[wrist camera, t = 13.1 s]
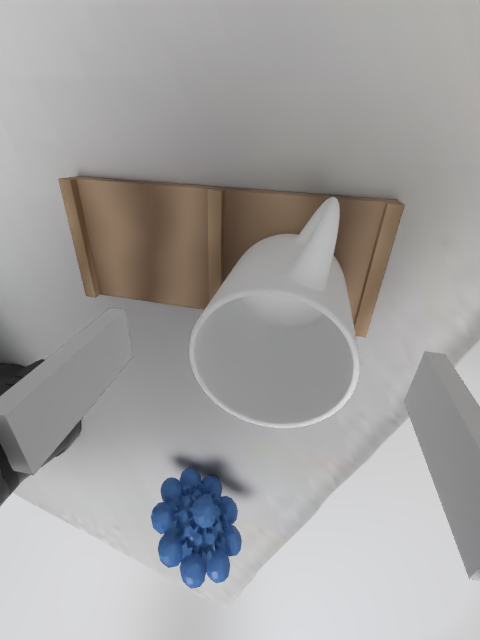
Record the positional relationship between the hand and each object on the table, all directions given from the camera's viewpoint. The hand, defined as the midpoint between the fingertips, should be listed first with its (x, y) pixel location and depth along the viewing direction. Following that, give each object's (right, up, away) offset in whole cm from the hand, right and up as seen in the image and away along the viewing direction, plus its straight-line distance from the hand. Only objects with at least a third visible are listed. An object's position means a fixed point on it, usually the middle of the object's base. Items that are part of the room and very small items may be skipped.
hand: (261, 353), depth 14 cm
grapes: (-4, -19, +28) cm, 34 cm away
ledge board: (-3, +7, +12) cm, 14 cm away
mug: (+3, +6, +10) cm, 12 cm away
